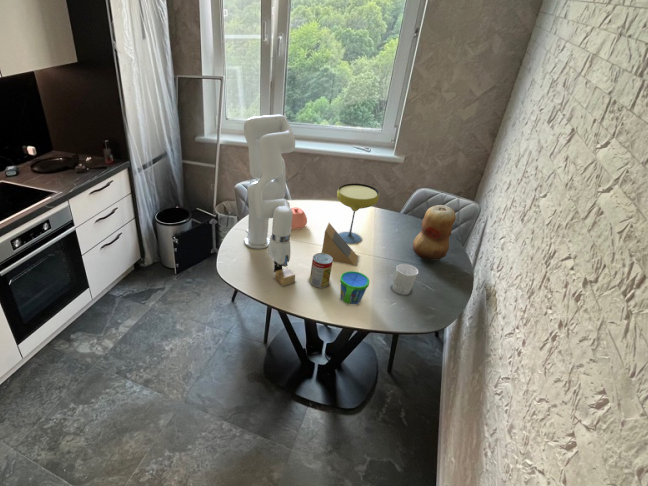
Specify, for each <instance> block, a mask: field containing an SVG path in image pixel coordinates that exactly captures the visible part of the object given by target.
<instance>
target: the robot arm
mask: <svg viewBox="0 0 648 486" xmlns="http://www.w3.org/2000/svg"><path fill="white" fill-rule="evenodd" d="M243 135H244V138H245V141H246V143H247V148H248V149H247V150H248V165H249V166H248V167H249V175H250V177H251V178H253V179H255V180H256V179H257V180H258V181H253V182H252V183H250V184H249V185H248V187H246V195H247V201H248V202H247V203H248V221H247V222H248V223H247V229H246V230H245V233H246V234H247V236H246V237H245V238H244V244H245V245H246V247H248V248H250V249H256V250H260V249H264V248H267V255H268V256H269V257H270V258H271V259H272V260H273V272H274V273H275V271H277V270H281V269H283V267H284V268H287V267H288V263H289V262H290V259H291V233H292V229H291V226H292V216H293V212H292V209H291V208H292V207H291V205H290V202H289V201H288V199H286V198H285V196H286V192H287V174H286V173H287V172H286V171H287V169H286V162H285V158H284V157H283V156H282V154H290V153H293V152H294V150H295V149H296V137H295V134H294V132H293V129H292V127H291V125H290V122H289V121H288V119H287V118H286V116H285V115H283V114H269V115H258V116H252V117H250V118H247V119H246V120H245V121H244V124H243ZM269 219H272V225H271V226H272V227H271V235H270V237H269V222H270V221H269Z"/></svg>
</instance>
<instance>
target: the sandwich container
mask: <svg viewBox="0 0 648 486" xmlns="http://www.w3.org/2000/svg"><path fill="white" fill-rule="evenodd" d="M339 234H340V233H338V232H337V230H336V229H335V228H334V226H333V225H332V224H331V223H330V222H328V223H327V225H326V228H325V230H324V236H323V240H322V241H323V243H322V248H321V253H325V254H328V255H330V256H331V257H332V258H333V262H334V263H339V264H345V265H350V266H357V262H358V258H359V256H358V255H357V254H356V253H355V251H354V250H353V249H352V248H351V246H350V245H349V243H346V242H345V241H344V240H343V239H342V237H341V236H340V235H339Z"/></svg>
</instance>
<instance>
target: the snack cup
mask: <svg viewBox="0 0 648 486" xmlns="http://www.w3.org/2000/svg"><path fill="white" fill-rule="evenodd" d="M339 283H340V300H341V301H342V302H343V303H344V304H346V305H358V304H359V303H361V301H362V299H363V297H364V295H365V293H366V291H367V289H368V287H369V286H370V279H369V277H368V276H367V275H365V274H364V273H362V272H359V271H354V270H348V271H345V272H343V273H341V275H340V277H339Z"/></svg>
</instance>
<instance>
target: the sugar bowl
mask: <svg viewBox="0 0 648 486" xmlns="http://www.w3.org/2000/svg"><path fill="white" fill-rule="evenodd" d="M290 208H291V209H292V212H293V216H292V226H291V230H301V229H303V228H304V227H306V226H307V224H308V217H307V215H306V213H305V211H304V210H303V209H302V208H299V207H297V206H296V207H290Z"/></svg>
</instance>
